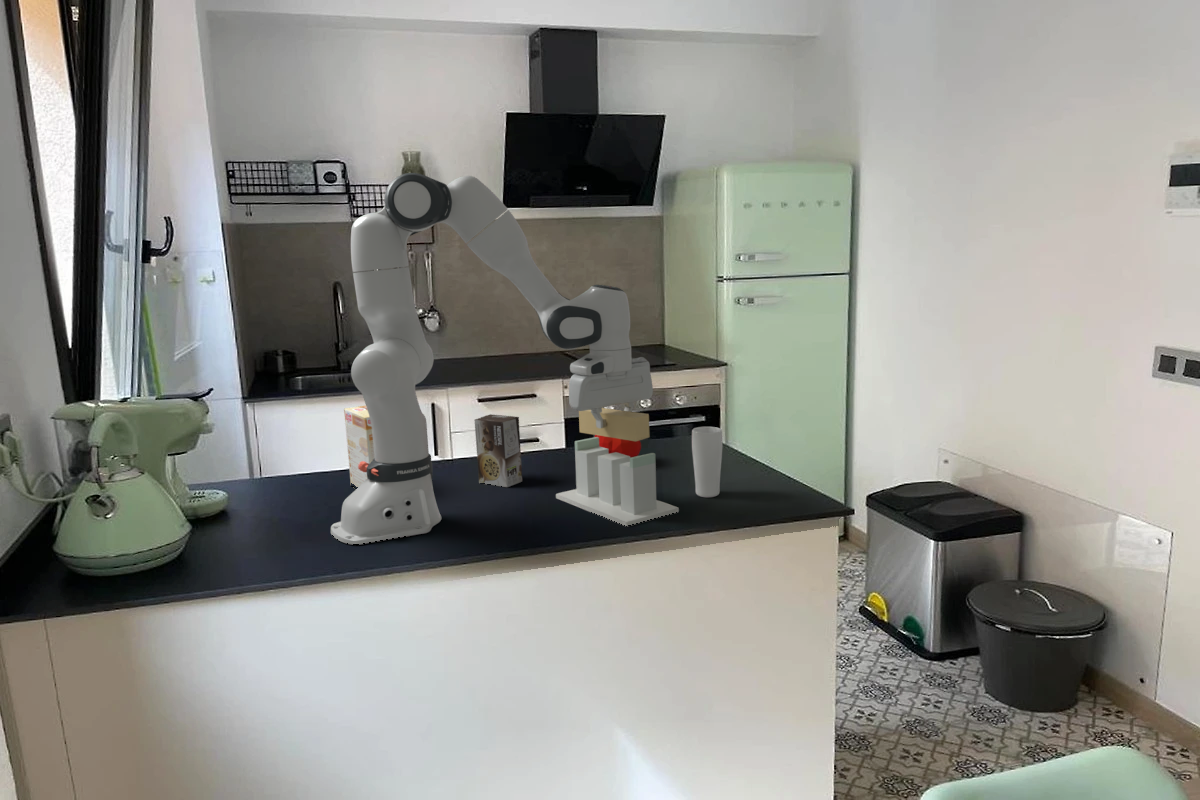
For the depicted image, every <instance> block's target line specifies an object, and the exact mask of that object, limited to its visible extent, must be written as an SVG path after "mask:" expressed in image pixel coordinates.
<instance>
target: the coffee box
mask: <svg viewBox="0 0 1200 800" xmlns="http://www.w3.org/2000/svg"><path fill="white" fill-rule="evenodd" d="M473 422H474V431H475V446H476V458H477V459H476V460H477V472H478V483H479V484H480V483H485V484H484V485H487V484H491V485H490V486H495V485H496V486H495V487H501V486H502V487H501V488H509V487H511V486H514V485H517V484H519V483H521V482H523V470H522V469H523V468H522V452H521V451H522V450H521V434H520V417H519V416H513V415H512V416H511V415H503V414H502V415H501V414H491V413H490V414H487V415H484V416H481V417H478V418H476V419H474V421H473Z"/></svg>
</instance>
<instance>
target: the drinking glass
mask: <svg viewBox="0 0 1200 800" xmlns="http://www.w3.org/2000/svg"><path fill="white" fill-rule="evenodd" d="M691 453H692V463H693V472H694V485H695V494H696V495H697V497H701V498H715V497H717V496H719V494H720V489H721V488H720V487H721V486H720V483H721V470H722V460H723V429H722V428H720V427H715V426H698V427H694V428H693V429H691Z"/></svg>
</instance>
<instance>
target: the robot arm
mask: <svg viewBox="0 0 1200 800" xmlns="http://www.w3.org/2000/svg"><path fill="white" fill-rule="evenodd" d="M436 224H446V226H449V227H450V228H451V229H453V231H455V233H456V234H458V236H459V237H460V238H461V239H462V241H463V242H464V244H466V246H467V247H468V248H469V249H470V250H471V251H472V252H473V253H474V255H475V256H477V258H479V259H480V260H481V261H482V262H483V263H484V264H485V265H487V266H488V268H490V269H492V270H494V271H495V272H497V273H499V274H500V275H502V276H504V277H505V278H506V279H508V280H509V281H510V282H511V283H512V284H514V285H513V286H515V287H516V288H517V289H518V291H519V292H520V293H521V295H522V296H523V297H524V298H525V299H526V300H527V301H528V303H529V304H530V306H531V307H532V308H533V309H534V311H535V312H536V315H537V317H538V320H539V324H540V327H541V331H542V333H543V335H544V336H545V337H546V338H547V339H548V341H550V342H551V343H552V344H554V346H556V347H558V348H560V349H563V350H575V349H578V348H581V347H586V346H589V353H587V354H585V355H584V356H582V357H581V358H578V359H577V360H575V361H573V362H571V363H570V365H569V370H570V373H572V375H571V377H570V379H569V382H568V402H569V406H570V408H571V409H572V410H574V411H576V412H577V411H578V412H579V411H585V410H591V413H592V415H593V416H594V418H595V419H596V427H597V428H604V427H606V419H603V418H602V416H601V415H600V413H601V412H602V408H607V407H612V406H618V405H622V406H623V407H624V409H623V411H629V412H633V410H634V408H635V402H639V401H644V400H650V399H651V398H652V396H653V394H654V387H653V381H652V375H651V365H650V362H649V361H648V360H647V359H646V358H645V357H643V356H640V357H636V358H635V357H632V345H631V340H630V330H631V314H630V304H629V303H630V302H629V299H628V295H627V293H626V292H625V291H624V290H623V289H622V288H619V287H617V286H612V285H604V284H593V285H591V286H590V287H589V288H588V289H586V290H585V291H584V292H583V293H581V294H579V295H578V296H576V297H573V298H571V299H570V298H567V297H566V296H563V295H562V294H561V293H560V292H559V291H558V290H556V288H555V287H554V285H552V283H551V282H550V281H549V279H548V278H547V277H546V276H545V274H544V273H543V272H542V271H541V269H540V268H539V267H538V266H537V264H536V262H535V261H534V258H533V256H532V254H531V251H530V247H529V243H528V239H527V236H526V235H525V233H524V231H523V228H521V226H520V224H519V222H518V221H517V219H516V218H515V216H514V215H513V214H512V212H511V211H510V210H509V209H508V207H507V206H506V205H505V204H504V202H503V201H502V200H501V199H500V198H499V197H498V196H497V195H496V194H495V193H494V192H493V191H492V190H491V188H489V187H488V186H487V185H485V184H484V183H483V182H482V181H481V180H480V179H478V178H477V177H475V176H472V175H464V176H463V175H462V176H460V177H457V178H455V179H453V180H451V182H449V183H448V184H445V183H444V182H441V181H439V180H436V179H434V178H432V177H429V176H427V175H424V174H422V173H417V172H408V173H407V172H406V173H401V174H400V175H398V176H396V177H395V178H394V179H393V180H392V181H390V183H389V184H388V187H386V191H385V193H384V206H383V208H382V209H381V210H379V211H377V212H371V213H370V212H369V213H366V214H364V215H362V216H360V217H358V218H356V219H355V220H354V221H353V223H352V226H351V231H350V232H351V233H350V257H351V258H350V259H351V260H350V261H351V269H352V277H353V282H354V289H355V296H356V303H357V309H358V312H359V314H360V316H361V317H362V318H363V319H364V321H365V322H366V325H367V328H368V330H369V333H370V334H371V337H372V342H373V343H372V344H369V345H367V346H365V348H363V350H361V351H360V353H358V354H357V356H356V357H355V359H354V360H353V363H352V365H351V370H350V375H351V379H352V382H353V385H354V386H355V388H357V390H358V391H359V392H360V393H361V395H362V398H363V401H364V403H365V406H366V407H367V410H368V413H369V417H370V421H371V426H372V435H373V445H374V457H375V458H374V459H373V461H372V462H371V463H370V464H368V463H366V462H365V461H362V462H360V464H358V469H360V470H361V471H363V472H367V479H366V480H365V481H364V482H363V483H362V484H361V485H360V486H359V487H358V488H357V489H355V490H354V491H352V493H350V494H349V495H348V496H347V497H346V498H345V499H344V501H343V502H342V505H341V515H340V521H338V522H335V523H333V524H332V525H331V526H330V534H331V536H332V535H333V536H334V537H333V536H332V537H333V538H334V539H336V540H337V539H338V540H337V541H340V542H341V543H344V544H347V543H348V545H353V544H359V545H364V544H363V543H365V544H369V542H371V543H376V542H375V541H377V542H381V541H380V540H383V541H387V540H386V539H388V540H392V538H394V539H399V538H398V537H400V538H403V537H404V536H406V537H410V536H416V535H421V534H422V535H423V534H427V533H430V532H431V531H432V528H433V527H434V526H436V525H437V524H439V523H440V522H441V520H442V515H441V514H440V510H439V508H438V504H437V501H436V496H435V493H434V487H433V481H432V480H433V462H432V455H431V453H430V452H429V437H428V424H427V419H426V416H425V414H424V413H423V412H422V409H421V406H420V404H419V401H418V396H417V393H416V385H418V384H420V383H421V382H423V381H424V379H426V377H427V376H428V375H429V374H430V372H431V370H432V368H433V365H434V361H435V359H434V358H435V357H434V351H433V349H432V347H431V346H430V344H429V343H428V342H427V340H426V337H425V333H424V331H423V327H422V324H421V322H420V319H419V315H418V313H417V309H416V308H417V307H416V305H415V300H414V294H413V293H414V292H413V285H412V278H411V270H410V265H409V264H410V263H409V257H408V245H407V244H408V240H409V237H411V236H414V235H416V234H418V233H421V232H422V231H424V232H425V231H426V230H429V229H430V228H432V227H433V226H435V225H436Z"/></svg>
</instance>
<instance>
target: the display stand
mask: <svg viewBox="0 0 1200 800" xmlns="http://www.w3.org/2000/svg"><path fill="white" fill-rule="evenodd" d="M574 455H575V457H574V459H575V460H574V461H575V485H576V488H575V489H574V488H573V489H571V490H567V491H566V490H565V491H562V492H558V493H556V494H555V499H557V500H560V501H562V502H565V503H567V504H569V505H572V506H575V507H576V508H580V509H582V510H584V511H586V512H588V513H591V512H592V514H594V513H595V515H596V514H597V516H599V515H600V516H599V517H601V516H603V517H602V518H604V517H605V518H604V519H606V518H607V519H606V520H609V519H610V520H609V521H611V520H612V521H611V522H614V521H615V522H614V523H616V522H617V524H619V523H620V524H619V525H621V524H622V526H624V525H625V526H624V527H626V526H627V527H629V526H628V525H631V526H633V525H632V524H634V525H637V524H636V523H638V524H641V523H640V522H642V523H644V522H643V521H645V522H648V521H647V520H649V521H651V520H650V519H652V520H655V519H654V518H656V519H659V518H662V517H661V516H663V517H666V516H665V515H667V516H669V514H670V515H673V514H672V513H674V514H677V513H679V511H680V509H679V507H677V506H675V505H672V504H669V503H667V502H664V501H661V500H658V499H657V471H656V469H657V468H656V467H657V466H656V464H657V463H656V453H654V452H650V453H646V454H642V455H640V454H639V455H638V456H636V457H631V458H630V456H627V455H624V454H620V453H617V452H615V453H610V454H609V452H608V449H607V448H603V447H600V446H599V438H598V437H589V438H584V439H580V440H575V441H574ZM676 512H677V513H676ZM658 517H659V518H658Z"/></svg>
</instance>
